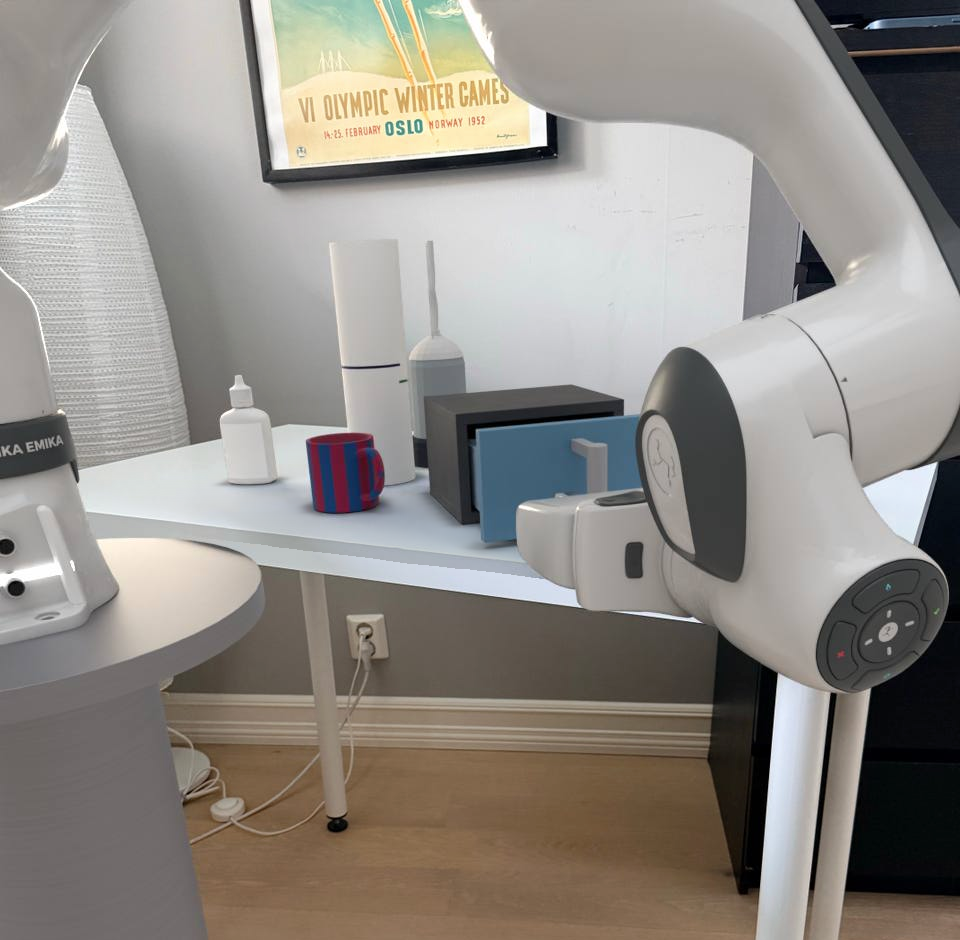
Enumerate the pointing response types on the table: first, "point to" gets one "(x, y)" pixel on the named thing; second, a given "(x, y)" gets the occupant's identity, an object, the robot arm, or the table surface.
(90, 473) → the table surface
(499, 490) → the drawer
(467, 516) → the dark grey cabinet
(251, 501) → the table surface
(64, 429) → the robot arm
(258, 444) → the eye dropper bottle
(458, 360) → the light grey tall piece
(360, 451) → the mug
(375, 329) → the cylindrical container
